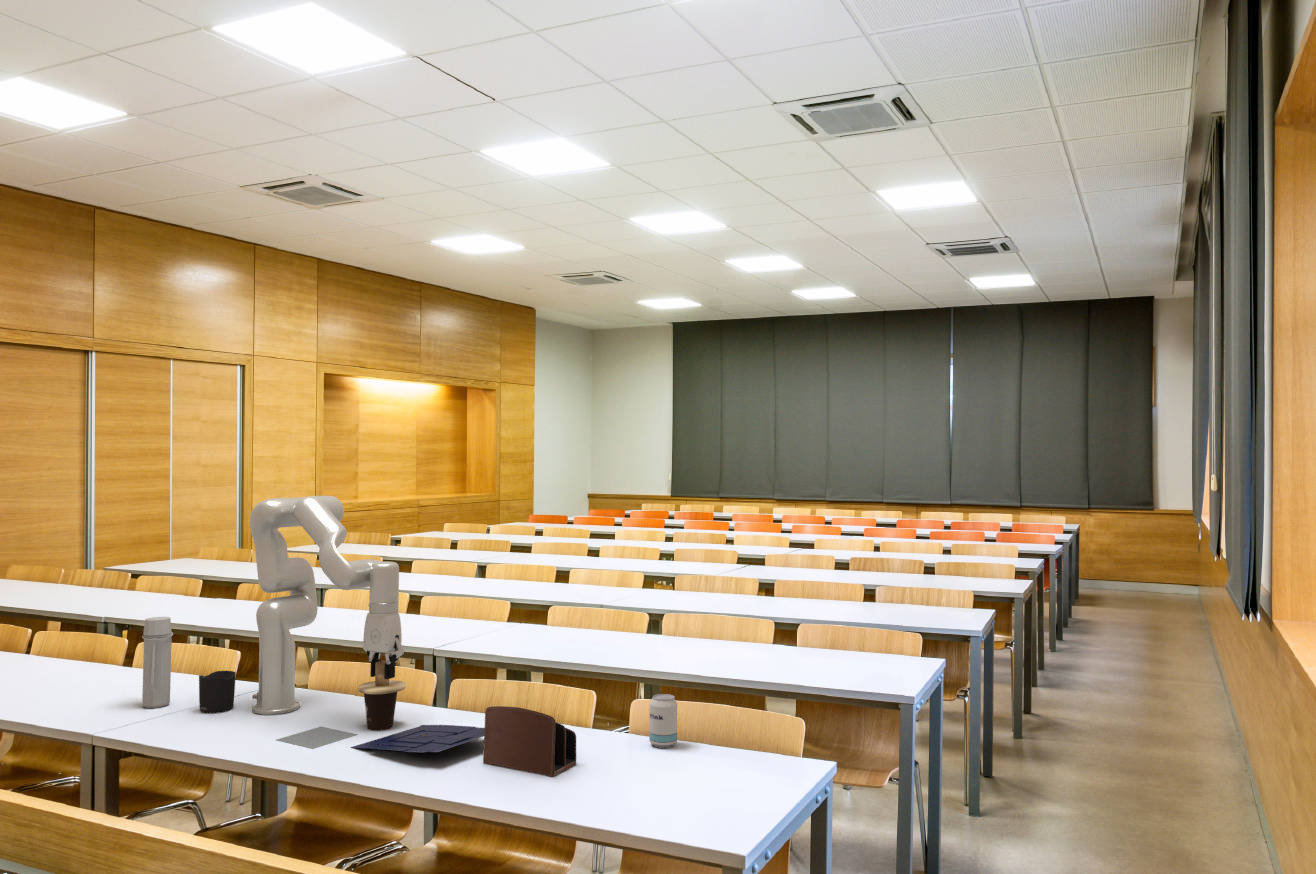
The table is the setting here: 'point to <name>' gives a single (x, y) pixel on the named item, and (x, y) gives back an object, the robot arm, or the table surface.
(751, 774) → the table surface
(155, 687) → the water bottle
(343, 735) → the mat
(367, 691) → the lid
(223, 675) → the pen holder
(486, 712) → the letter holder
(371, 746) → the dark blue tray
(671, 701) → the beverage can
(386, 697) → the coffee mug
